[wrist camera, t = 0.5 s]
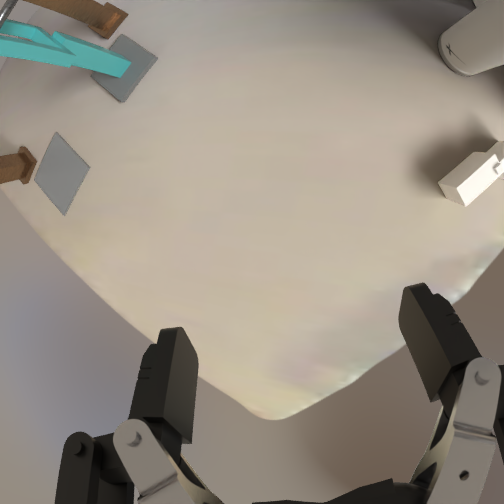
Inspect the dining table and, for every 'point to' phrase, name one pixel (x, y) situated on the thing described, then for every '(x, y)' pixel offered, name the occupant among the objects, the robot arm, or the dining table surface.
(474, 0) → the milk carton
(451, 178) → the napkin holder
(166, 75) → the dining table surface
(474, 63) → the travel mug
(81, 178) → the slate pad
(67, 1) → the bent wire rig
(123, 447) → the robot arm
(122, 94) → the turquoise post on base
